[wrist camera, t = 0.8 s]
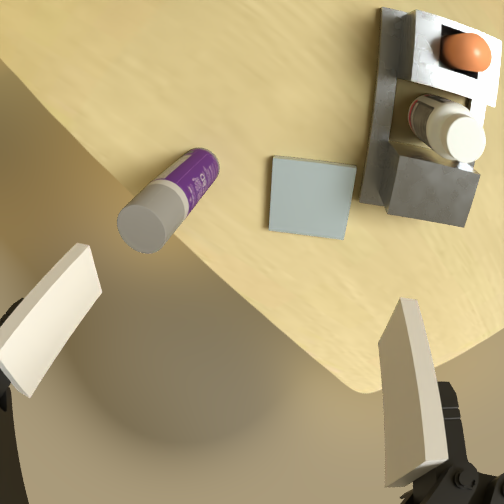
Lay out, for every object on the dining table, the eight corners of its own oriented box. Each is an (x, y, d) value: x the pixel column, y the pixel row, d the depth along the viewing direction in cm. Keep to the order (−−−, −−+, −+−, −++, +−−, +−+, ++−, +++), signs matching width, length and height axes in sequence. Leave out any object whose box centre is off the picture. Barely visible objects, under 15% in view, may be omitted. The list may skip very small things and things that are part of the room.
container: (227, 173, 36) (178, 242, 24) (196, 191, 38) (139, 262, 26) (205, 140, 34) (142, 192, 22) (174, 160, 36) (105, 219, 24)
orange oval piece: (437, 30, 20) (458, 27, 16) (468, 41, 19) (493, 40, 15) (435, 63, 21) (456, 64, 17) (465, 73, 21) (490, 77, 17)
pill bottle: (424, 150, 30) (457, 183, 22) (397, 111, 28) (426, 131, 21) (459, 124, 27) (501, 149, 19) (433, 84, 26) (473, 95, 18)
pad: (274, 155, 34) (273, 158, 33) (355, 165, 33) (356, 168, 32) (269, 226, 39) (268, 230, 38) (343, 235, 38) (343, 239, 37)
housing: (380, 8, 23) (394, -3, 18) (489, 42, 21) (517, 43, 16) (358, 199, 35) (365, 224, 30) (455, 216, 33) (473, 242, 28)
